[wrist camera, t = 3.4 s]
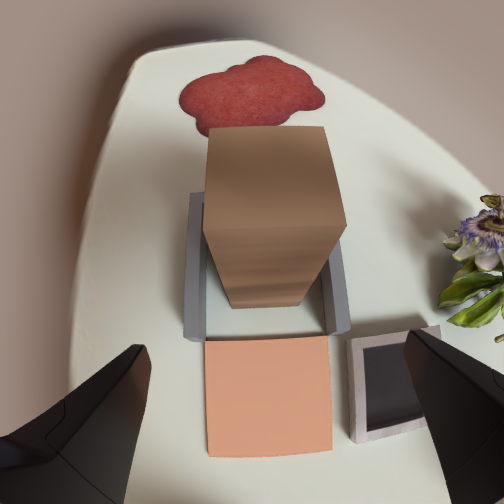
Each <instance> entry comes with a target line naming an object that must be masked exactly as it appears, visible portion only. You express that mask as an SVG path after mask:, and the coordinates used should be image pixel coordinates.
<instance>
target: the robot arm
mask: <svg viewBox="0 0 504 504" xmlns="http://www.w3.org/2000/svg"><path fill="white" fill-rule="evenodd" d="M403 355H404V358H405V361H406V364H407V368H408V371H409V375H410V378H411V382H412V385H413V388H414V391H415V393H416V396H417V398H418V401H419V404H420V406H421V409H422V411H423V414H424V417H425V419H426V422H427V425H428V428H429V431H430V433H431V436H432V439H433V442H434V445H435V448H436V451H437V454H438V457H439V460H440V464H441V467H442V470H443V474H444V477H445V480H446V485H447V488H448V492H449V496H450V499H451V503H452V504H504V375H503V374H501V373H499V372H498V371H496V370H494V369H491V368H490V367H489V366H487V365H485V364H483V363H482V362H480V361H478V360H476V359H474V358H473V357H471V356H469V355H467V354H465V353H464V352H462V351H460V350H458V349H456V348H454V347H453V346H451V345H449V344H447V343H445V342H444V341H442V340H440V339H438V338H436V337H434V336H433V335H431V334H429V333H427V332H425V331H424V330H422V329H413V330H410V331H409V332H408V335H407V338H406V341H405V344H404V347H403ZM150 375H151V361H150V358H149V355H148V352H147V348H146V346H145V345H143V344H133V345H131V346H130V347H129V348H127V349H126V350H125V351H124V352H122V353H121V354H120V355H118V356H117V357H116V358H115V359H113V360H112V361H111V362H109V363H108V364H107V365H106V366H104V367H103V368H102V369H100V370H99V371H98V372H96V373H95V374H94V375H93V376H91V377H90V378H89V379H87V380H86V381H85V382H84V383H82V384H81V385H80V386H78V387H77V388H76V389H75V390H73V391H72V392H71V393H69V394H68V395H67V396H66V397H64V399H62V400H60V401H59V402H58V403H56V404H55V405H54V406H52V407H51V408H50V409H48V410H47V411H46V412H44V413H43V414H41V415H40V416H38V417H36V418H35V419H33V420H32V421H30V422H29V423H27V424H25V425H24V426H22V427H20V428H19V429H17V430H16V431H14V432H12V433H10V434H9V435H6V436H3V437H0V504H123V503H124V498H125V493H126V488H127V483H128V478H129V474H130V469H131V465H132V460H133V456H134V452H135V447H136V443H137V439H138V435H139V431H140V427H141V423H142V419H143V415H144V412H145V407H146V402H147V395H148V388H149V381H150Z"/></svg>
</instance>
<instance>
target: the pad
mask: <svg viewBox="0 0 504 504" xmlns="http://www.w3.org/2000/svg"><path fill="white" fill-rule="evenodd" d="M205 380H206V412H207V434H208V452H209V457H271V456H285V455H297V454H306V453H314V452H322V451H329V450H332V405H331V382H330V364H329V349H328V336H317V337H305V338H290V339H273V340H249V341H205Z"/></svg>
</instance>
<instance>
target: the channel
mask: <svg viewBox="0 0 504 504" xmlns="http://www.w3.org/2000/svg"><path fill="white" fill-rule="evenodd" d="M204 198H205V192H199V193H190V203H189V216H188V230H187V245H186V264H185V287H184V328H183V337H184V338H186V339H188V340H190V341H193V342H205V341H206V268H207V240H206V237H205V235H204V232H203V217H204ZM320 274H321V283H322V292H323V302H324V313H325V324H326V336H334V335H340V334H342V333H345V332H347V331H349V330H351V324H350V314H349V305H348V297H347V289H346V281H345V274H344V267H343V260H342V254H341V247H340V241H339V240H338V242H337V244H336V245H335V247H334V249H333V250H332V252H331V254H330V255H329V257H328V259H327V261H326V262H325V264H324V265H323V267H322V269H321V270H320Z"/></svg>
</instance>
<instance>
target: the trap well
mask: <svg viewBox="0 0 504 504" xmlns="http://www.w3.org/2000/svg"><path fill="white" fill-rule="evenodd" d="M420 329H422V330H424V331H425V332H427V333H429V334H431V335H433V336H434V337H436V338H438V339H440V340H441V332H440V325H436V326H431V327H426V328H420ZM409 331H410V330H409ZM409 331H403V332H396V333H390V334H383V335H376V336H368V337H361V338H352V339H349V340H346V353H347V367H348V385H349V410H350V440H351V441H353V442H354V443H356V444H358V443H363V442H368V441H372V440H377V439H381V438H385V437H389V436H393V435H396V434H400V433H403V432H407V431H410V430H414V429H417V428H420V427H423V426H426V425H427V422H426V419H425V417H424V414H423V411H422V409H421V406H420V404H419V401H418V398H417V396H416V393H415V391H414V388H413V385H412V382H411V378H410V375H409V371H408V368H407V364H406V361H405V358H404V355H403V347H404V344H405V341H406V338H407V335H408V332H409Z"/></svg>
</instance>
